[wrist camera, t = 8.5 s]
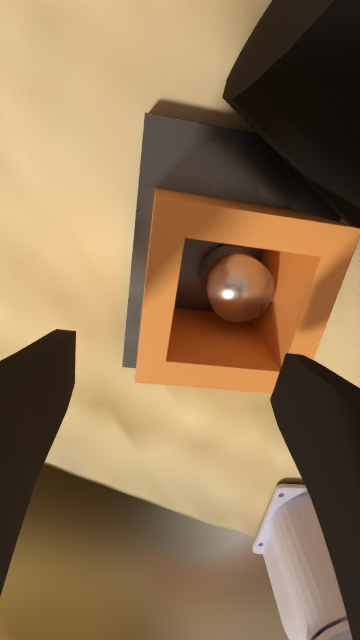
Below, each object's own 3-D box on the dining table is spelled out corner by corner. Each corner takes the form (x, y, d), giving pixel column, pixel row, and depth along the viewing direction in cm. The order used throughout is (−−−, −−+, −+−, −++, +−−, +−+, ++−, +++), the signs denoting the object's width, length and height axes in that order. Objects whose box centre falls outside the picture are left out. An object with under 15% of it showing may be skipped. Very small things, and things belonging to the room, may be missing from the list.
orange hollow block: (260, 335, 20) (299, 395, 15) (140, 322, 19) (134, 382, 14) (296, 210, 17) (362, 229, 12) (155, 187, 16) (155, 196, 11)
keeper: (279, 372, 23) (303, 413, 19) (123, 358, 21) (116, 399, 18) (351, 154, 17) (408, 150, 13) (145, 115, 16) (142, 98, 12)
